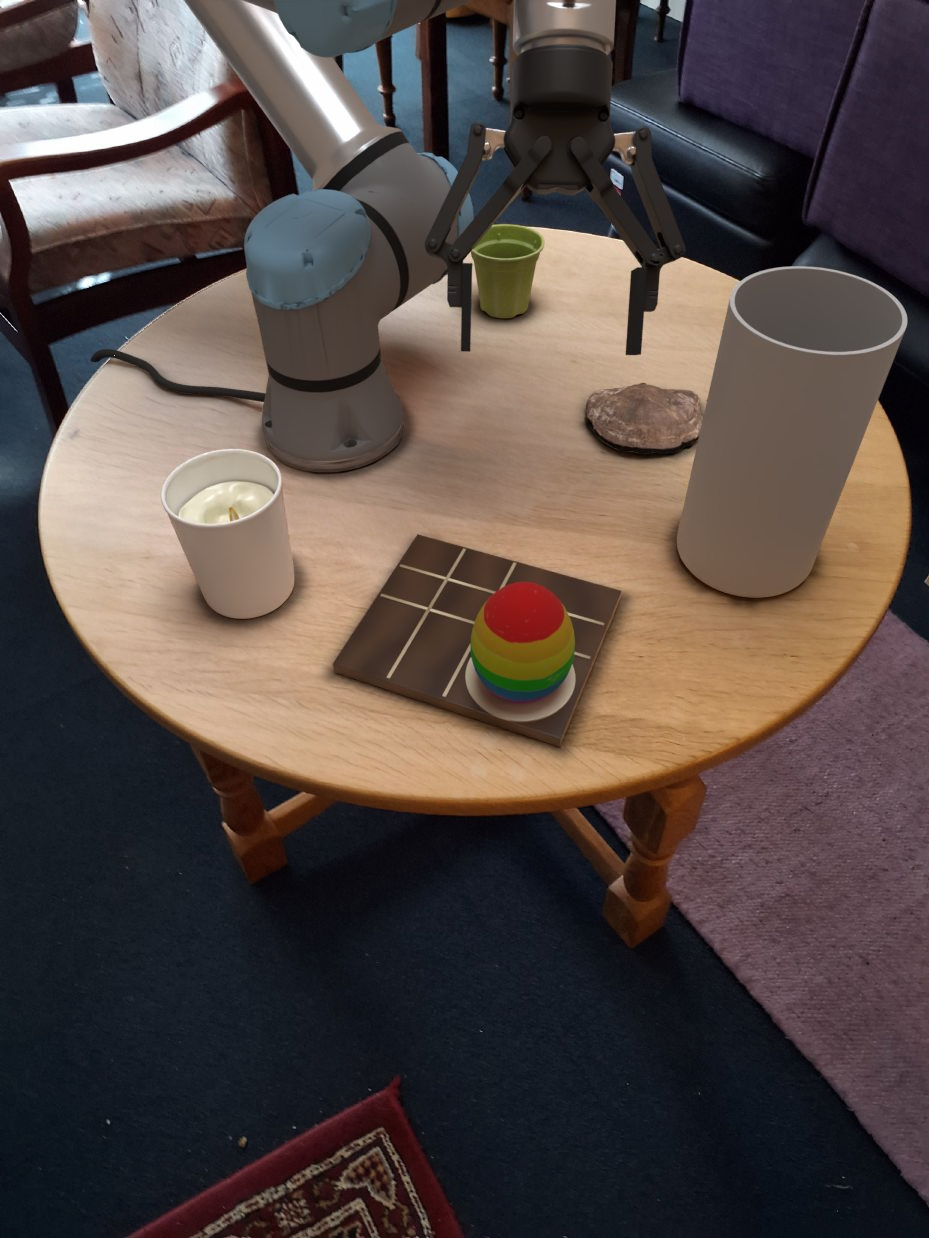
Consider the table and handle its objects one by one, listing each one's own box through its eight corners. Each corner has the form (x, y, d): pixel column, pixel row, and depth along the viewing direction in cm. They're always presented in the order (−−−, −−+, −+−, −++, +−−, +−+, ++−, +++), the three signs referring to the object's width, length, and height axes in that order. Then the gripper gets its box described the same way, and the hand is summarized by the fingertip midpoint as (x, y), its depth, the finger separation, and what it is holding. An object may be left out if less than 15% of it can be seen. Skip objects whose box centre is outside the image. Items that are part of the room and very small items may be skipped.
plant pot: (472, 287, 118) (472, 221, 112) (543, 290, 117) (547, 225, 111) (462, 324, 112) (461, 257, 106) (537, 328, 111) (541, 261, 105)
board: (334, 672, 75) (332, 662, 74) (418, 543, 86) (417, 532, 85) (559, 747, 70) (560, 737, 69) (620, 599, 80) (622, 589, 79)
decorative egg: (581, 709, 71) (593, 626, 63) (479, 723, 70) (479, 641, 62) (558, 632, 76) (566, 547, 69) (463, 644, 75) (461, 560, 68)
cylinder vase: (662, 582, 82) (716, 336, 63) (688, 497, 89) (743, 256, 71) (803, 616, 79) (903, 368, 60) (817, 525, 86) (910, 281, 68)
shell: (707, 461, 93) (714, 433, 90) (585, 456, 94) (588, 428, 91) (698, 397, 101) (704, 369, 98) (585, 392, 102) (588, 365, 99)
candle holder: (318, 557, 85) (298, 456, 76) (280, 634, 78) (254, 533, 69) (221, 542, 86) (191, 441, 77) (177, 616, 80) (139, 515, 71)
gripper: (392, 33, 63) (392, 348, 69) (744, 43, 63) (715, 355, 69) (398, 69, 70) (398, 350, 76) (714, 77, 71) (691, 357, 76)
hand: (549, 353), depth 72 cm, fingers open, 13 cm apart
